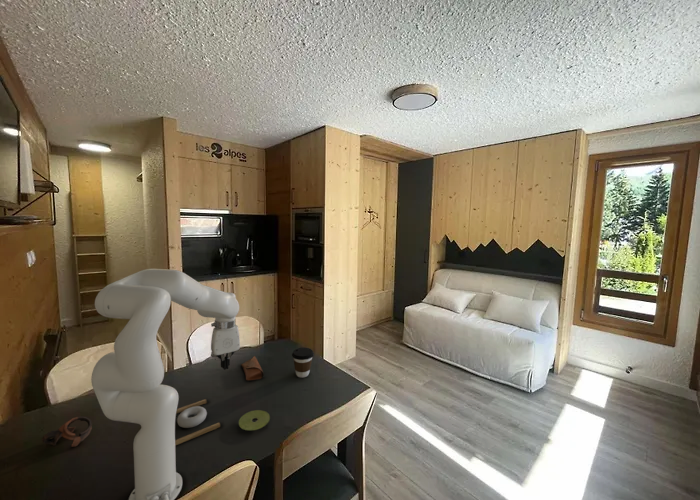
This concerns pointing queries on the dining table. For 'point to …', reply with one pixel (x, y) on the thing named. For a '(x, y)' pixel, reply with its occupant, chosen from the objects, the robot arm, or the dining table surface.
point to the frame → (197, 431)
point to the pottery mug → (68, 432)
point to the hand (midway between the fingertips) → (225, 367)
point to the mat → (254, 420)
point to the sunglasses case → (252, 369)
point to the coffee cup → (302, 361)
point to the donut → (188, 422)
